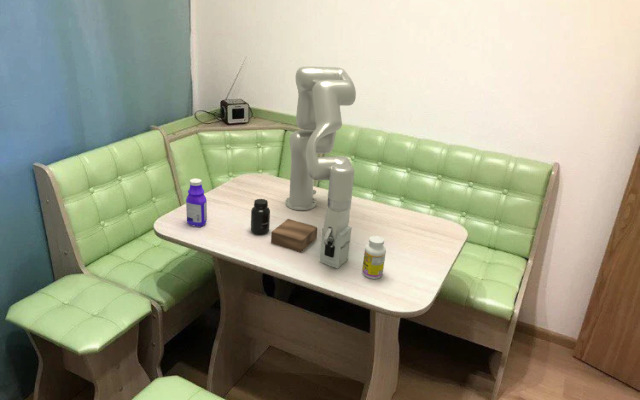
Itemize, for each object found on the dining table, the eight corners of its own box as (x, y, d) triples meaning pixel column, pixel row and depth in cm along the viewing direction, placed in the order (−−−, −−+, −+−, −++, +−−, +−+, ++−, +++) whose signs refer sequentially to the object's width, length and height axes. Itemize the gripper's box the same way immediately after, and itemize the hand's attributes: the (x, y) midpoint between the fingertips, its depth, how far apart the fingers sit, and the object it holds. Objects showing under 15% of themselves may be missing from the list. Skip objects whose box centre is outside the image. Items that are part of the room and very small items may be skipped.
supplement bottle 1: (266, 236, 177) (267, 206, 172) (248, 233, 178) (248, 203, 173) (271, 228, 183) (272, 199, 178) (254, 225, 184) (254, 196, 179)
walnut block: (287, 230, 183) (288, 218, 181) (316, 239, 178) (317, 227, 176) (270, 244, 173) (271, 231, 171) (301, 253, 168) (301, 240, 166)
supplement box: (337, 269, 160) (341, 235, 155) (318, 261, 163) (321, 228, 158) (348, 260, 166) (352, 226, 161) (330, 252, 169) (333, 220, 164)
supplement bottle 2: (360, 268, 162) (364, 233, 156) (380, 268, 162) (385, 234, 157) (363, 279, 156) (368, 244, 150) (384, 280, 156) (389, 244, 151)
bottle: (209, 222, 184) (208, 179, 177) (202, 228, 179) (200, 184, 172) (192, 218, 185) (190, 175, 178) (184, 225, 180) (182, 181, 173)
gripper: (340, 191, 165) (336, 237, 172) (315, 209, 150) (312, 258, 158) (361, 196, 161) (356, 243, 169) (337, 215, 147) (332, 265, 154)
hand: (334, 250), depth 163 cm, fingers closed on supplement box, 7 cm apart
